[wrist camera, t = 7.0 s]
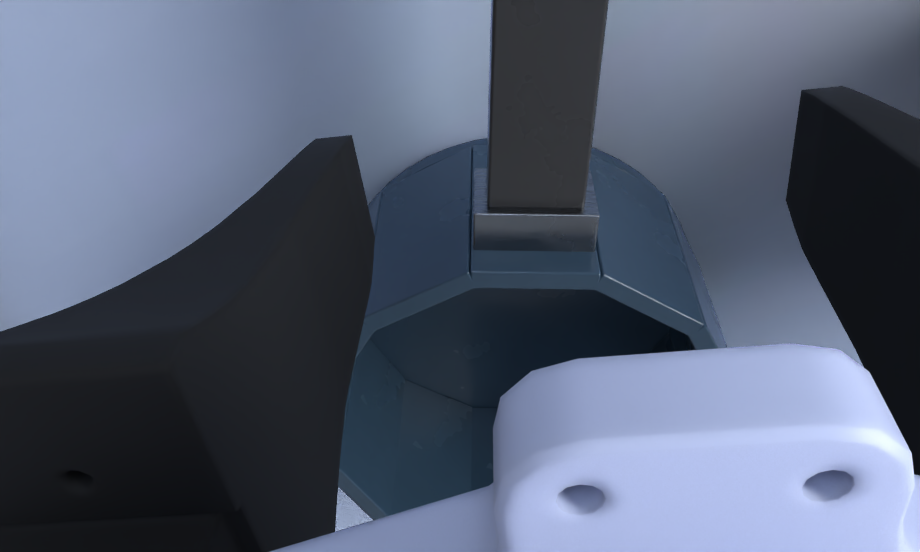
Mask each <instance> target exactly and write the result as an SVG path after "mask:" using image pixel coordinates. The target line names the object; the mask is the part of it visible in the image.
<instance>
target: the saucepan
mask: <svg viewBox="0 0 920 552" xmlns="http://www.w3.org/2000/svg"><path fill="white" fill-rule="evenodd" d="M608 1H609V0H491V30H490V68H489V106H488V138H487V139H481V140H474V141H471V142H467V143H464V144H460V145H457V146H453V147H450V148H447V149H445V150H443V151H440V152H438V153H436V154H433V155H431V156H429V157H427V158H425V159H423V160H421V161H420V162H418V163H416V164H414V165H413V166H411V167H409V168H408V169H406V170H405V171H404V172H402V173H401V174H400V175H398V176H397V177H396V178H394V179H393V180H392V181H391V182H389V183H388V184H387V185H386V186H385V187H384V188H383V189H382V190H381V191H380V192H379V193H378V194H377V195H376V197H375V198H374V199H373V200H372V201H371V203H370V204H369V206H368V209H369V213H370V217H371V222H372V226H373V230H374V235H375V243H374V260H373V273H372V285H371V290H370V294H369V299H368V304H367V308H366V313H365V317H364V322H363V326H362V331H361V335H360V340H359V344H358V348H357V353H356V357H355V362H354V366H353V371H352V375H351V379H350V384H349V389H348V395H347V401H346V407H345V416H344V425H343V435H342V445H341V455H340V468H339V480H338V487H339V488H340V489H341V490H342V491H344V492H345V493H346V494H347V495H348V496H349V497H350V498H351V499H352V500H353V501H354V502H355V503H356V504H357V505H358V506H359V507H360V508H361V509H362V510H363V511H364V512H365V513H366V514H368V515H369V516H370V517H371V518H372V519H373V520H376V519H380V518H383V517H386V516H390V515H393V514H396V513H400V512H403V511H406V510H410V509H413V508H416V507H420V506H423V505H426V504H430V503H433V502H436V501H440V500H443V499H446V498H450V497H453V496H456V495H460V494H463V493H466V492H470V491H473V490H476V489H480V488H483V487H486V486H489V485H491V484H492V483H493V426H494V422H495V418H496V413H497V409H498V405H499V401H500V397H501V396H502V395H504V394H505V393H506V392H507V391H508V390H509V389H511V388H512V387H513V386H514V385H515V384H517V383H518V382H519V381H520V380H521V379H522V378H524V377H525V376H526V375H527V374H528V373H530V372H531V371H533V370H537V369H541V368H545V367H548V366H552V365H556V364H559V363H563V362H567V361H571V360H574V359H579V358H593V357H607V356H621V355H635V354H649V353H662V352H676V351H690V350H704V349H718V348H727V345H726V342H725V339H724V336H723V333H722V330H721V327H720V325H719V322H718V319H717V316H716V313H715V310H714V307H713V304H712V301H711V298H710V295H709V292H708V289H707V286H706V283H705V280H704V278H703V275H702V272H701V269H700V266H699V263H698V261H697V259H696V257H695V255H694V253H693V251H692V249H691V247H690V245H689V243H688V241H687V239H686V237H685V234H684V231H683V229H682V226H681V224H680V221H679V219H678V217H677V216H676V214H675V212H674V211H673V209H672V207H671V206H670V204H669V202H668V200H667V198H666V196H665V195H663V193H662V192H660V191H659V190H658V189H657V188H656V187H655V186H654V185H653V184H652V183H651V182H650V181H648V180H647V179H646V178H645V177H644V176H643V175H642V174H640V173H639V172H638V171H636V170H635V169H633V168H632V167H630V166H629V165H627V164H625V163H624V162H622V161H621V160H619V159H617V158H615V157H613V156H611V155H609V154H606V153H604V152H602V151H600V150H598V149H595V148H592V140H593V131H594V123H595V114H596V105H597V97H598V88H599V79H600V71H601V62H602V53H603V45H604V36H605V27H606V19H607V10H608Z"/></svg>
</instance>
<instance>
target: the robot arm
mask: <svg viewBox="0 0 920 552" xmlns="http://www.w3.org/2000/svg"><path fill="white" fill-rule="evenodd" d="M786 202H787V205H788V209H789V212H790V215H791V218H792V221H793V224H794V228H795V230H796V233H797V236H798V239H799V242H800V245H801V247H802V250H803V252H804V254H805V256H806V258H807V260H808V262H809V264H810V265H811V267H812V269H813V271H814V273H815V275H816V277H817V279H818V281H819V283H820V284H821V286H822V288H823V290H824V292H825V294H826V296H827V297H828V299H829V301H830V303H831V305H832V307H833V309H834V310H835V312H836V314H837V316H838V318H839V320H840V322H841V323H842V325H843V327H844V329H845V331H846V333H847V335H848V336H849V338H850V340H851V342H852V344H853V346H854V348H855V349H856V352H857V354H858V356H859V358H860V360H861V362H862V364H863V366H864V367H862V366H861V365H860V364H858V363H857V362H856V361H854V360H853V359H852V358H850V357H849V356H848V355H846V354H845V353H844V352H842V351H841V350H840V349H834V348H826V347H818V346H810V345H801V344H793V343H787V344H773V345H759V346H745V347H732V348H718V349H704V350H690V351H676V352H662V353H649V354H635V355H621V356H607V357H593V358H579V359H574V360H571V361H567V362H563V363H559V364H556V365H552V366H548V367H545V368H541V369H537V370H533V371H531V372H530V373H528V374H527V375H526V376H525V377H524V378H522V379H521V380H520V381H519V382H518V383H517V384H515V385H514V386H513V387H512V388H511V389H509V390H508V391H507V392H506V393H505V394H504V395H502V396H501V397H500V401H499V405H498V409H497V413H496V418H495V422H494V426H493V483H492V484H491V485H489V486H486V487H483V488H480V489H476V490H473V491H470V492H466V493H463V494H460V495H456V496H453V497H450V498H446V499H443V500H440V501H436V502H433V503H430V504H426V505H423V506H420V507H416V508H413V509H410V510H406V511H403V512H400V513H396V514H393V515H390V516H386V517H383V518H380V519H376V520H373V521H370V522H366V523H363V524H360V525H356V526H353V527H350V528H346V529H343V530H340V531H336V532H335V521H336V505H337V492H338V480H339V468H340V455H341V445H342V435H343V425H344V416H345V407H346V401H347V395H348V389H349V384H350V379H351V375H352V371H353V366H354V362H355V357H356V353H357V348H358V344H359V340H360V335H361V331H362V326H363V322H364V317H365V313H366V308H367V304H368V299H369V294H370V290H371V285H372V273H373V260H374V243H375V235H374V230H373V226H372V222H371V217H370V213H369V209H368V204H367V200H366V195H365V191H364V187H363V182H362V178H361V174H360V169H359V165H358V160H357V156H356V152H355V147H354V143H353V139H352V135H349V136H339V137H329V138H319V139H315V140H314V141H312V142H311V143H310V144H309V145H307V146H306V147H305V148H304V149H303V150H302V151H301V152H300V153H299V154H297V155H296V156H295V157H294V158H293V159H292V160H291V161H290V162H289V163H288V164H287V165H286V166H285V167H284V168H283V169H282V170H281V171H279V172H278V173H277V174H276V175H275V176H274V177H273V178H272V179H271V180H270V181H269V182H268V183H266V184H265V185H264V186H263V187H262V188H261V189H260V190H259V191H258V192H257V193H256V194H255V195H253V196H252V197H251V198H250V199H249V200H247V201H246V202H245V203H244V204H242V205H241V206H240V207H239V208H238V209H236V210H235V211H234V212H233V213H232V214H230V215H229V216H228V217H227V218H226V219H224V220H223V221H222V222H221V223H220V224H218V225H217V226H216V227H214V228H213V229H212V230H210V231H209V232H208V233H206V234H205V235H203V236H202V237H201V238H199V239H198V240H196V241H195V242H193V243H192V244H190V245H189V246H187V247H186V248H184V249H182V250H181V251H179V252H178V253H176V254H175V255H173V256H172V257H170V258H168V259H167V260H165V261H163V262H161V263H159V264H157V265H156V266H154V267H152V268H150V269H148V270H146V271H145V272H143V273H141V274H139V275H137V276H136V277H134V278H132V279H130V280H128V281H126V282H125V283H123V284H121V285H118V286H116V287H114V288H112V289H110V290H108V291H106V292H104V293H101V294H99V295H97V296H95V297H93V298H90V299H88V300H85V301H83V302H81V303H78V304H76V305H74V306H71V307H69V308H66V309H64V310H61V311H59V312H56V313H53V314H51V315H48V316H45V317H42V318H39V319H36V320H33V321H30V322H28V323H25V324H22V325H19V326H16V327H13V328H10V329H7V330H4V331H1V332H0V552H920V120H919V119H917V118H915V117H913V116H911V115H909V114H906V113H904V112H902V111H900V110H898V109H896V108H894V107H892V106H889V105H887V104H885V103H883V102H881V101H879V100H876V99H874V98H872V97H870V96H867V95H865V94H863V93H860V92H858V91H855V90H853V89H850V88H846V87H843V86H838V87H828V88H818V89H808V90H801V97H800V104H799V111H798V118H797V125H796V132H795V139H794V147H793V154H792V161H791V168H790V175H789V182H788V189H787V196H786Z"/></svg>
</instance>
